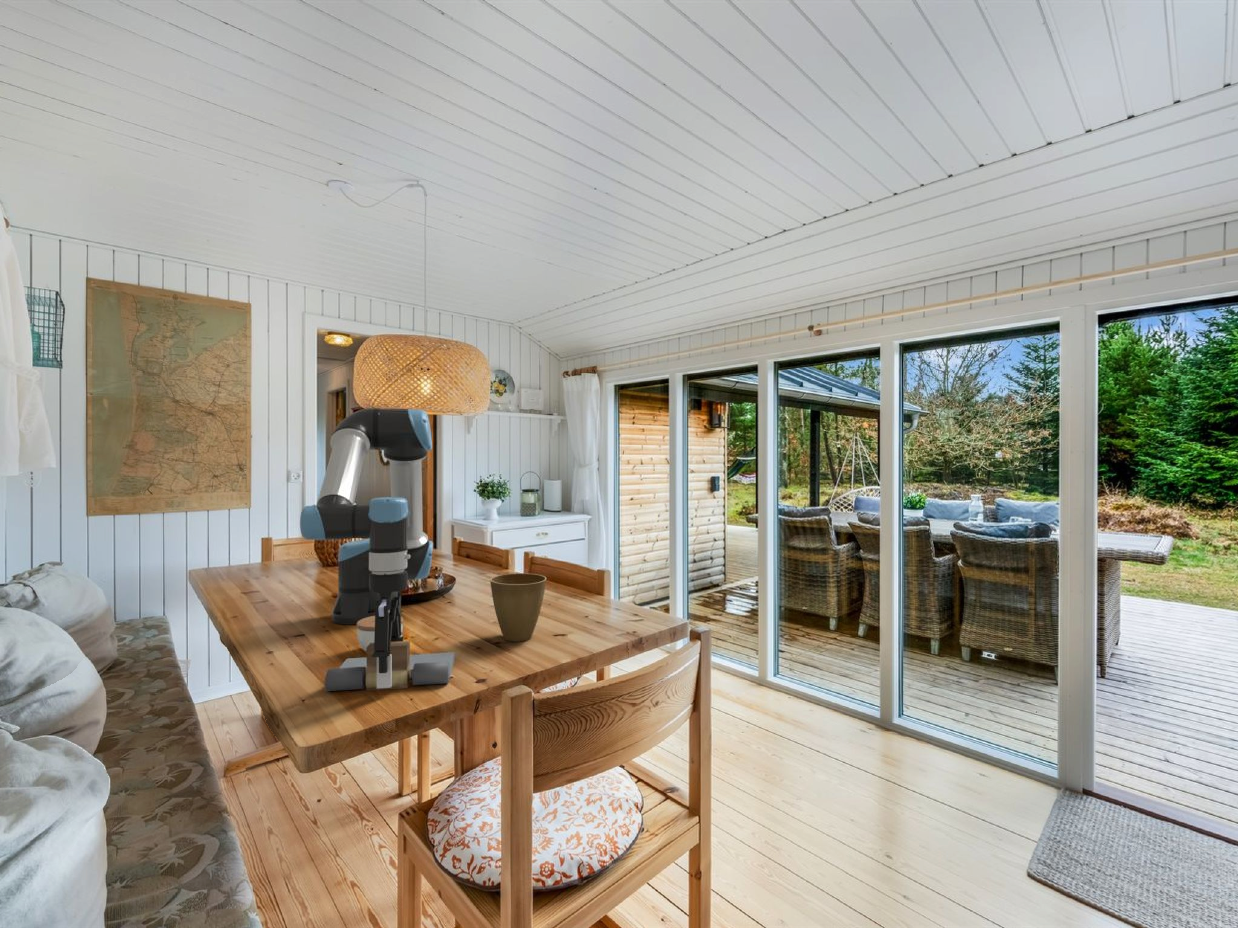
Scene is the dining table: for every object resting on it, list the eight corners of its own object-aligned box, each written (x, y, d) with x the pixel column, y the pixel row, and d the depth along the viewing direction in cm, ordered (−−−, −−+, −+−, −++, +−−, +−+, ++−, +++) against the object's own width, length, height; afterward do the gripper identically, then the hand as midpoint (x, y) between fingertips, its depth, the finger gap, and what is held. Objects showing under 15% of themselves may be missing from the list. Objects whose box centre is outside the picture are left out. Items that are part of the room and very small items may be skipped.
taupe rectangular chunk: (371, 683, 119) (371, 641, 119) (410, 681, 121) (410, 639, 121) (365, 692, 115) (365, 648, 115) (406, 689, 117) (406, 646, 116)
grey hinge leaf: (447, 686, 118) (447, 665, 118) (324, 694, 114) (324, 673, 114) (454, 660, 133) (454, 642, 133) (347, 667, 129) (346, 648, 128)
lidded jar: (412, 648, 141) (412, 611, 141) (375, 661, 132) (375, 622, 132) (385, 641, 147) (385, 605, 146) (347, 653, 137) (347, 615, 137)
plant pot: (535, 648, 142) (535, 585, 141) (480, 644, 145) (480, 582, 144) (553, 630, 156) (553, 573, 156) (503, 627, 159) (503, 571, 159)
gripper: (397, 579, 108) (397, 698, 108) (415, 562, 128) (415, 662, 128) (355, 581, 107) (355, 701, 107) (381, 563, 126) (381, 664, 126)
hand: (388, 679), depth 117 cm, fingers open, 7 cm apart
